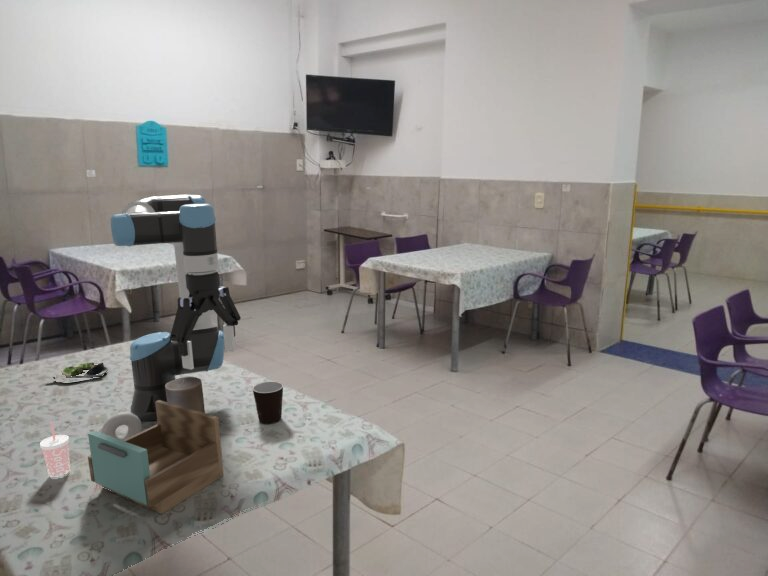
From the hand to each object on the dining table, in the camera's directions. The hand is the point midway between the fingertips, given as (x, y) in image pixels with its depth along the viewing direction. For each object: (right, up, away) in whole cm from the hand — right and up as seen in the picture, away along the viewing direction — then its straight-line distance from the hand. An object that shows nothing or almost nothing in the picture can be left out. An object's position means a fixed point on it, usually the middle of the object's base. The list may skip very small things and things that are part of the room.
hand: (210, 359), depth 136 cm
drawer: (-10, -28, -3) cm, 30 cm away
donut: (-27, -25, +14) cm, 40 cm away
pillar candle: (-14, -23, +24) cm, 36 cm away
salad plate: (-66, -15, +68) cm, 96 cm away
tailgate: (-15, -27, -12) cm, 34 cm away
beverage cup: (-37, -28, +2) cm, 47 cm away
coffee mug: (+9, -21, +31) cm, 38 cm away
